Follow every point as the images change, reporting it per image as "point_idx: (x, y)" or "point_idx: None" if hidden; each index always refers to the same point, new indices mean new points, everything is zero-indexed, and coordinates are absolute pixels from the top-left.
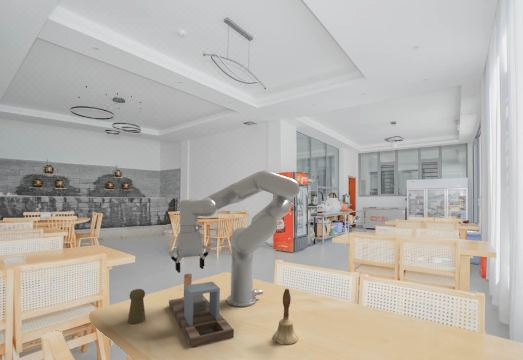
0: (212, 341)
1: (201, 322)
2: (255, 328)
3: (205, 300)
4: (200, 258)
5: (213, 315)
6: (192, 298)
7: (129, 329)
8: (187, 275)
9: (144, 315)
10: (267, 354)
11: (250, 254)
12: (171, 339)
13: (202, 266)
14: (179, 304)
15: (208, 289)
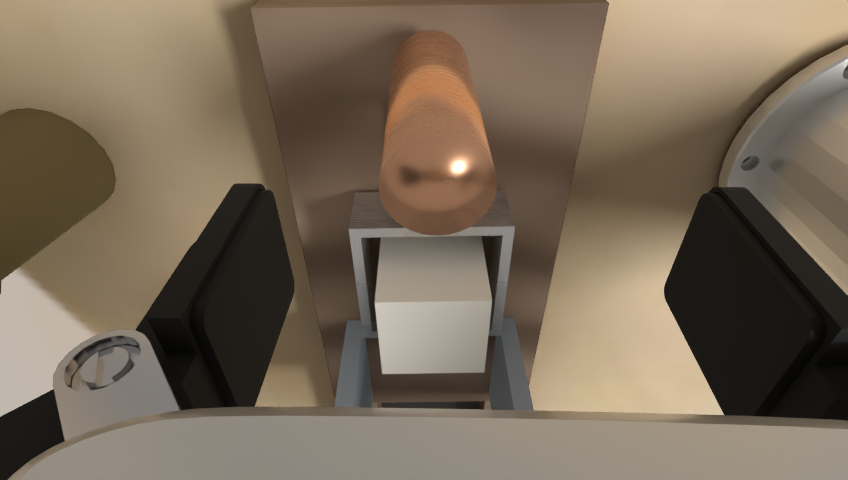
0: None
1: (416, 390)
2: (620, 410)
3: (497, 330)
4: (813, 370)
5: (492, 370)
6: None
7: (58, 252)
8: (421, 220)
9: (94, 199)
10: None
11: None
12: (285, 378)
13: (689, 330)
14: (340, 155)
15: None
